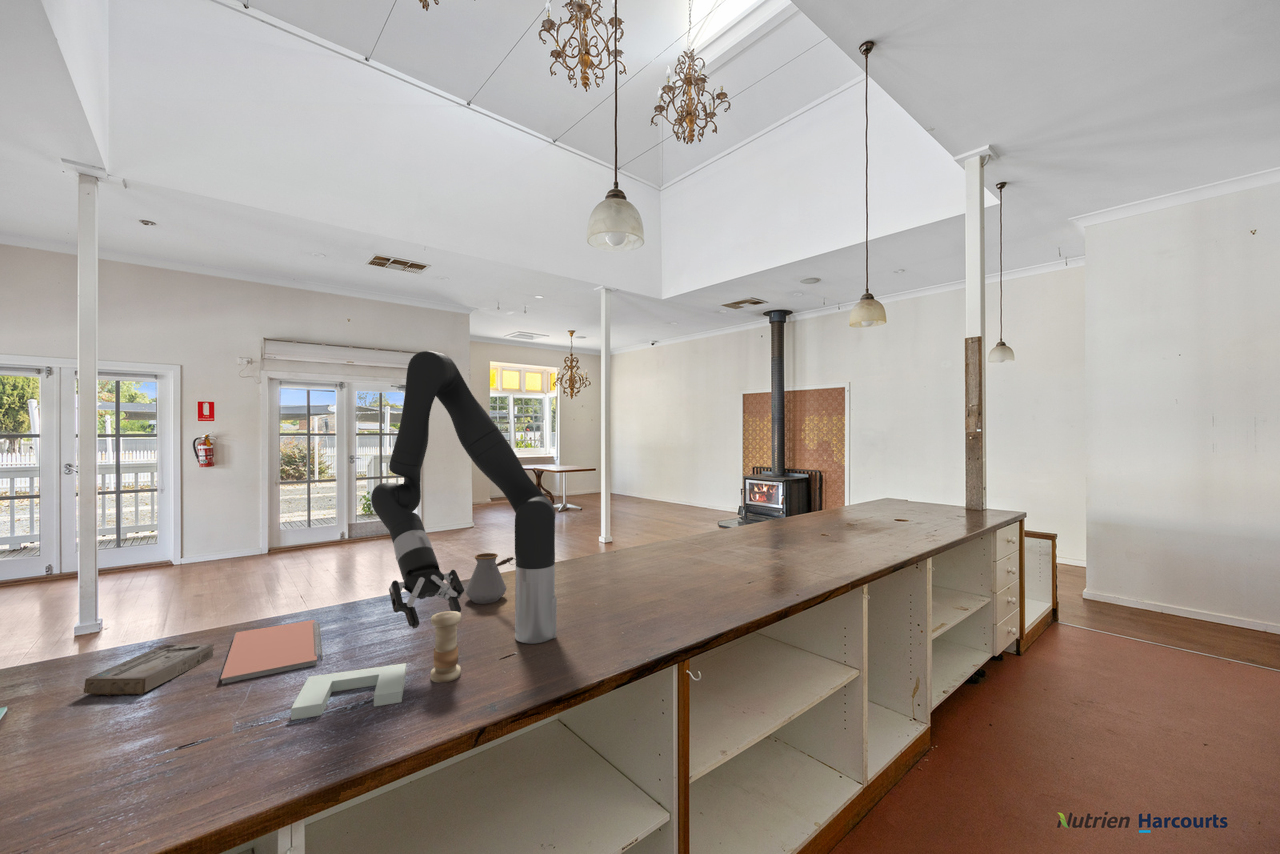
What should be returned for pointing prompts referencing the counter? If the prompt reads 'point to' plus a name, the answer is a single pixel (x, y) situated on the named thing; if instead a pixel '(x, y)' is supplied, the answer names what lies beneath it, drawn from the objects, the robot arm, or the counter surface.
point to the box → (148, 669)
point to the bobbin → (445, 647)
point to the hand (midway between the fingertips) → (437, 621)
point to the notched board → (322, 686)
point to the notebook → (272, 650)
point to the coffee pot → (486, 579)
